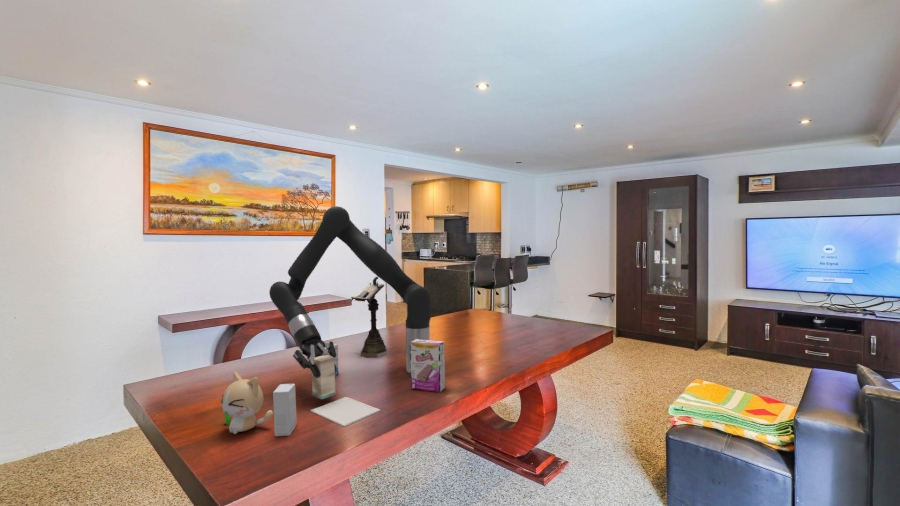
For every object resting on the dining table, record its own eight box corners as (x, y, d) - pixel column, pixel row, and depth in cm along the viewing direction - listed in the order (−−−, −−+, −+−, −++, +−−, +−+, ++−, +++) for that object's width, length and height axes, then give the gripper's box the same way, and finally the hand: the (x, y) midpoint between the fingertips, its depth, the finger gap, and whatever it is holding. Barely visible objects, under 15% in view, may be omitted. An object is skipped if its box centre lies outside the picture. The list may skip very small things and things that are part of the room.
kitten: (209, 429, 113) (207, 375, 113) (243, 416, 122) (242, 365, 121) (241, 443, 106) (239, 385, 105) (275, 427, 114) (274, 374, 114)
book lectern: (364, 362, 172) (362, 278, 170) (346, 356, 180) (344, 277, 179) (395, 353, 184) (393, 275, 183) (376, 348, 193) (375, 274, 191)
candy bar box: (410, 389, 141) (409, 342, 140) (415, 384, 146) (415, 338, 145) (440, 393, 137) (439, 344, 137) (445, 387, 142) (445, 340, 142)
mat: (310, 411, 124) (310, 410, 124) (346, 398, 134) (346, 396, 134) (344, 426, 114) (344, 425, 114) (380, 411, 124) (380, 409, 124)
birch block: (312, 395, 131) (311, 358, 130) (326, 390, 135) (324, 354, 134) (321, 399, 128) (320, 361, 127) (335, 394, 132) (334, 357, 131)
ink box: (327, 373, 159) (326, 343, 159) (339, 373, 158) (338, 343, 158) (315, 380, 151) (314, 349, 150) (328, 381, 150) (327, 349, 149)
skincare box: (281, 426, 115) (279, 383, 114) (296, 425, 115) (295, 383, 115) (273, 436, 109) (272, 392, 108) (290, 435, 109) (289, 391, 109)
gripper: (287, 328, 129) (311, 373, 122) (327, 320, 141) (350, 361, 134) (279, 342, 133) (301, 387, 126) (318, 333, 144) (341, 374, 137)
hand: (326, 373), depth 130 cm, fingers closed on birch block, 5 cm apart
